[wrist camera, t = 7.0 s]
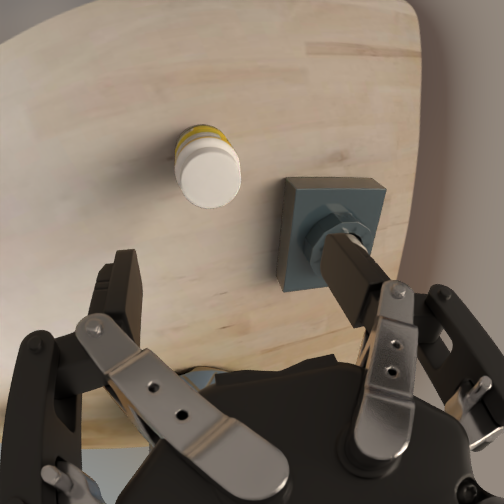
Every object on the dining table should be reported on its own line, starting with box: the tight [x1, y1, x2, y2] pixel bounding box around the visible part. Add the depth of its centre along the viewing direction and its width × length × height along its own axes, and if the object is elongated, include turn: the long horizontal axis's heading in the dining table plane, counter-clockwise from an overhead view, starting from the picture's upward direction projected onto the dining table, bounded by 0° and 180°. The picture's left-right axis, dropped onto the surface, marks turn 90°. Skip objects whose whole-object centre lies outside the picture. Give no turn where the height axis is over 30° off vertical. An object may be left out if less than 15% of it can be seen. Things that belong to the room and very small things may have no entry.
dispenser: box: [276, 177, 386, 292], centre depth 32 cm, size 12×10×5 cm
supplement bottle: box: [175, 124, 241, 209], centre depth 23 cm, size 5×5×8 cm
